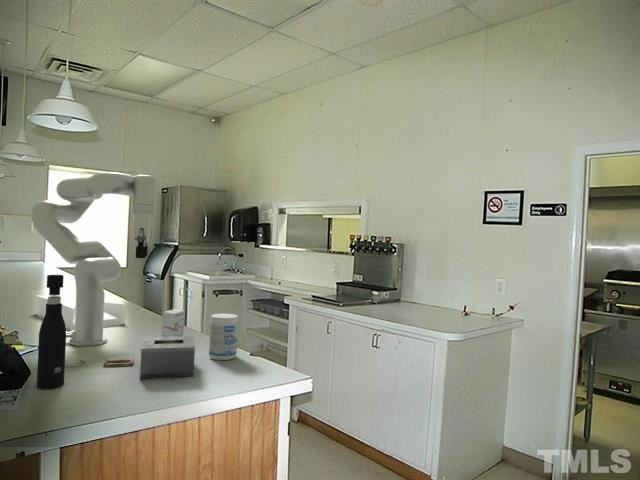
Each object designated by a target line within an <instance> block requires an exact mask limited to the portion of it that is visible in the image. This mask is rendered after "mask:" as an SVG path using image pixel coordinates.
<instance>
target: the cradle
mask: <svg viewBox="0 0 640 480" xmlns="http://www.w3.org/2000/svg"><path fill="white" fill-rule="evenodd" d="M134 358H135V357H134ZM134 358H129V359H128V358H126V359H125V358H122V359H109V358H106V359H105V360H104V362H103V364H102V366H103V367H104V368H109V367H110V368H111V367H114V368H115V367H132V366H133V364H134V363H135V359H134Z"/></svg>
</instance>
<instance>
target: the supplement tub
mask: <svg viewBox="0 0 640 480" xmlns="http://www.w3.org/2000/svg"><path fill="white" fill-rule="evenodd" d="M209 326H210V327H209V329H210V330H209V341H208V342H209V344H208V345H209V346H208V347H209V348H208V358H210V359H212V360H215V361H228V360H230V361H231V360H233V359H235V358H236V356H237V348H238V347H237V346H238V330H239V329H238V328H239V316H238V315H237V314H234V313H214V314H211V316H210V325H209Z"/></svg>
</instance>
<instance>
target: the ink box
mask: <svg viewBox="0 0 640 480" xmlns="http://www.w3.org/2000/svg"><path fill="white" fill-rule="evenodd" d="M185 314H186V310H183V309H175V308H174V309H170V310H165V311H163V315H162V316H163V317H162V328H161V336H184V330H185V328H184V327H185Z"/></svg>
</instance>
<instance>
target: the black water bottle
mask: <svg viewBox="0 0 640 480" xmlns="http://www.w3.org/2000/svg"><path fill="white" fill-rule="evenodd" d="M46 288H48V290H49V293H48V295H49V297H48V299H47V300H48V301H47V302H48V303H47V304H46V314H45V317H44V318H42V319H43V320H42V321H41V325H40V328H39V332H38V349H37V351H38V352H37V366H36V367H37V369H36V370H37V371H36V389H38V390H54V389H58V388H61V387H63V386H64V385H65V369H66V367H65V366H66V347H67V346H66V345H67V344H66V343H67V338H66V332H67V328H66V327H65V322H64V319H63V316H62V303H61V298H62V296H60V295H61V289H62V288H64V275H63V274H48V275H46Z"/></svg>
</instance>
